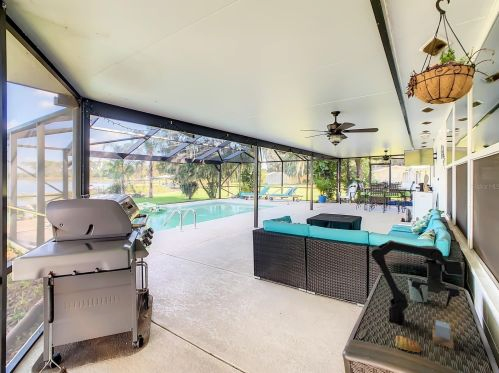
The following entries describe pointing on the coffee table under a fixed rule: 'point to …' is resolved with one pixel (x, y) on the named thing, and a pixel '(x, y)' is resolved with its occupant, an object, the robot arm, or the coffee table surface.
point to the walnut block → (443, 340)
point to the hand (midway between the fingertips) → (434, 303)
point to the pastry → (407, 344)
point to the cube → (442, 329)
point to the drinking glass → (415, 293)
